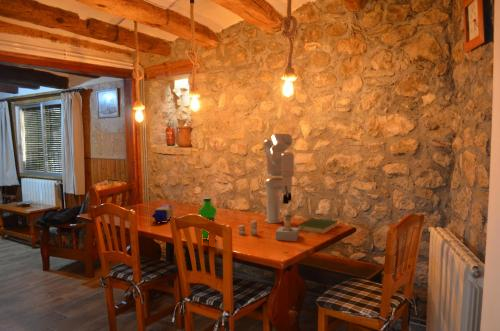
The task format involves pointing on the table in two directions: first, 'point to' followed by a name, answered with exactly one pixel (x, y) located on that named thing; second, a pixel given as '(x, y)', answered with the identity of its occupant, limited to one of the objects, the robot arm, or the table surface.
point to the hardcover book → (317, 225)
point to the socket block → (287, 234)
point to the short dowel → (241, 229)
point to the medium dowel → (253, 227)
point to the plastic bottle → (207, 213)
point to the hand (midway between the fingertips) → (287, 202)
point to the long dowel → (287, 222)
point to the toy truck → (163, 213)
